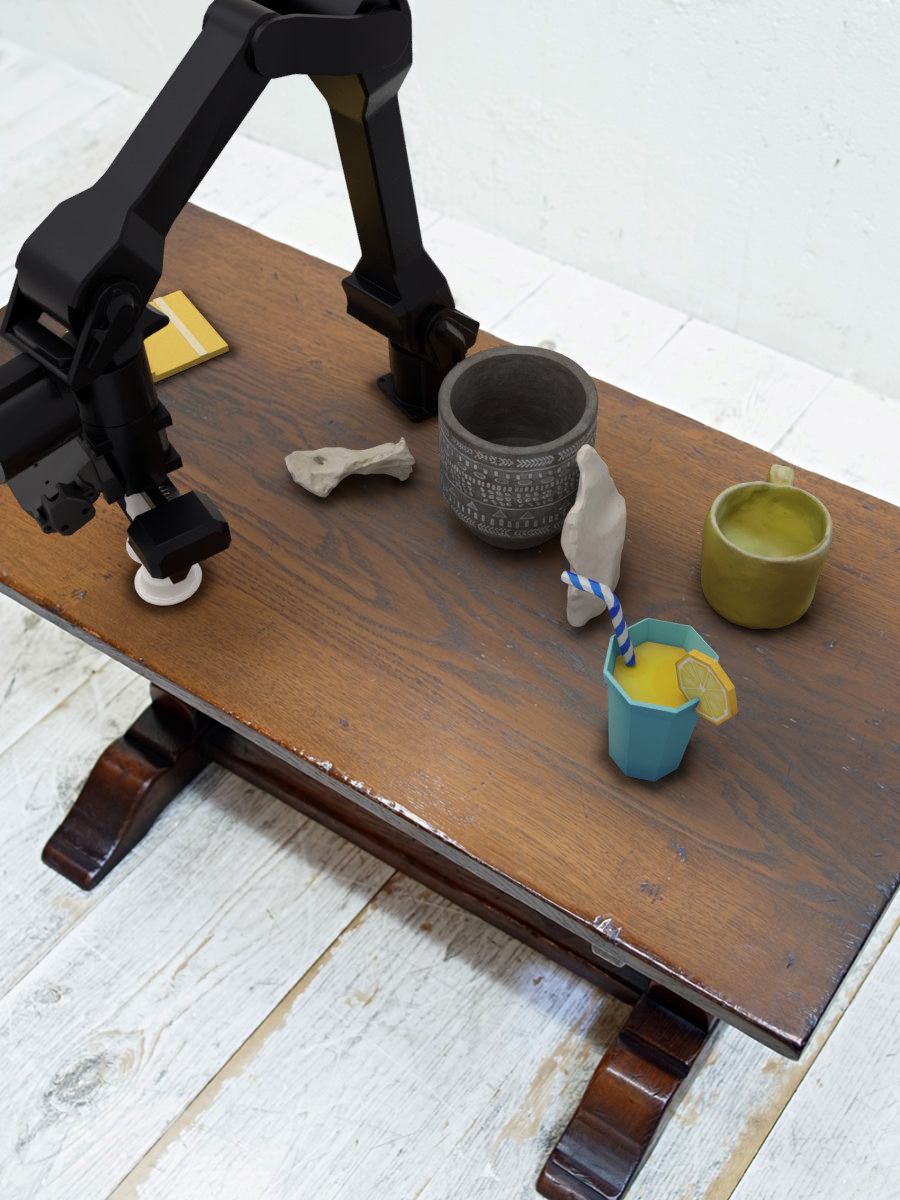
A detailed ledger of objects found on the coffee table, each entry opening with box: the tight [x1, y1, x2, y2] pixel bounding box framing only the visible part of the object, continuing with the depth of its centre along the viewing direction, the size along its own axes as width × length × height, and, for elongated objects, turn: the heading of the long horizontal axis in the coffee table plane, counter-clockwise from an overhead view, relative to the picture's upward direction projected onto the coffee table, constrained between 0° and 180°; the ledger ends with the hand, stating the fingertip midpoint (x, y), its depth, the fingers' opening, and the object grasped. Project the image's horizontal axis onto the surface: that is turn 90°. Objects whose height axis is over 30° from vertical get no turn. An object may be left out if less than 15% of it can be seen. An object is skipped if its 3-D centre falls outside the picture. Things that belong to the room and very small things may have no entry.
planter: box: [437, 344, 599, 550], centre depth 102 cm, size 12×12×13 cm
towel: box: [65, 289, 230, 384], centre depth 120 cm, size 10×12×1 cm
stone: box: [560, 444, 628, 628], centre depth 96 cm, size 11×4×15 cm, turn 167°
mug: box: [700, 463, 834, 630], centre depth 99 cm, size 12×10×10 cm
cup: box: [560, 570, 739, 782], centre depth 87 cm, size 14×8×15 cm, turn 53°
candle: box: [125, 493, 203, 606], centre depth 98 cm, size 5×5×12 cm
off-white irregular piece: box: [284, 436, 416, 498], centre depth 108 cm, size 6×10×4 cm, turn 104°
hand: (157, 550), depth 100 cm, fingers closed on candle, 7 cm apart
